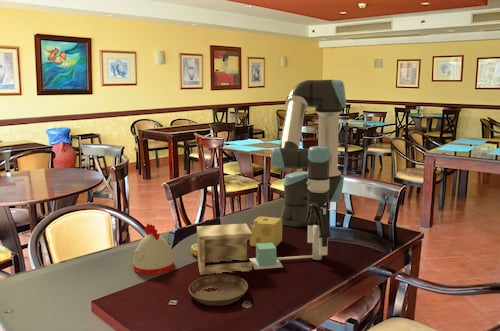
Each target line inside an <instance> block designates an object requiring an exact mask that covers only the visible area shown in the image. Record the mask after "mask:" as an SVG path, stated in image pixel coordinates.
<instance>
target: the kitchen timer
mask: <svg viewBox="0 0 500 331" xmlns="http://www.w3.org/2000/svg"><path fill="white" fill-rule="evenodd" d="M144 232H145V234H146V235H145V236H143V238H142V239H140V241H139V243H138V245H137V246H136V248H135V249H134V250H133V260H132V268H133V271H134V272H136V273H139V274H143V275H156V274H162V273H165V272H168V271H170V270H171V269H173V267H174V265H175V260H174V255H173V252H172V250H173V248H172V245H169V244H168V242H167V241H166V239H165V237H163V236H161V235H160V233H158V229H156V227H155V225H153V223H152V224H150V223H147V224H146V226H144Z"/></svg>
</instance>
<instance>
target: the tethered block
mask: <svg viewBox="0 0 500 331" xmlns="http://www.w3.org/2000/svg"><path fill="white" fill-rule="evenodd" d="M319 236H320V230H319V225H318V224H316V225H314V226H313V243H312V254H311V255H310V254H309V255H308V254H307V255H297V256H295V255H293V256H284V257H281V256H280V257H277V246H276V247H275V246H274V244H273V243H260V244H256V246H255V258H256V261H257V262H258V264H259V266H266V265H276V260H279V261H282V260H294V259H295V260H297V259H308V258H311V259H312V260H315V261H321V260H322V259H323V255H319V242H320V238H319ZM276 257H277V258H276Z"/></svg>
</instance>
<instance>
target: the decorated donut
mask: <svg viewBox="0 0 500 331" xmlns="http://www.w3.org/2000/svg"><path fill="white" fill-rule="evenodd" d="M190 252H191V253H192V255H193V256H195V257H196V258H198V253H197V242H196V243H193V244H192V245H191V247H190Z"/></svg>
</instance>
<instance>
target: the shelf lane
mask: <svg viewBox="0 0 500 331" xmlns="http://www.w3.org/2000/svg"><path fill="white" fill-rule="evenodd" d="M251 237H252V232H251V228H249V226H248V224H247V223H231V224H230V223H229V224H215V225H213V224H211V225H199V226H196V241H197V242H196V243H197V253H198V257H197V265H198V270H199V274H200V275H201V276H202V275H203V276H204V275H215V274H214V273H216V274H223V273H222V272H229V273H235V272H234V271H241V272H251V271H250V270H252V271H253V265H252V262H251V261H247V260H248V240H247V239H248V238H251ZM232 260H239V261H242V262H233V261H232ZM220 261H226V262H233V263H221V262H220ZM243 261H245V262H243ZM211 262H213V263H217V264H210V263H211ZM218 263H219V264H218ZM220 263H221V264H220ZM232 271H233V272H232Z"/></svg>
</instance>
